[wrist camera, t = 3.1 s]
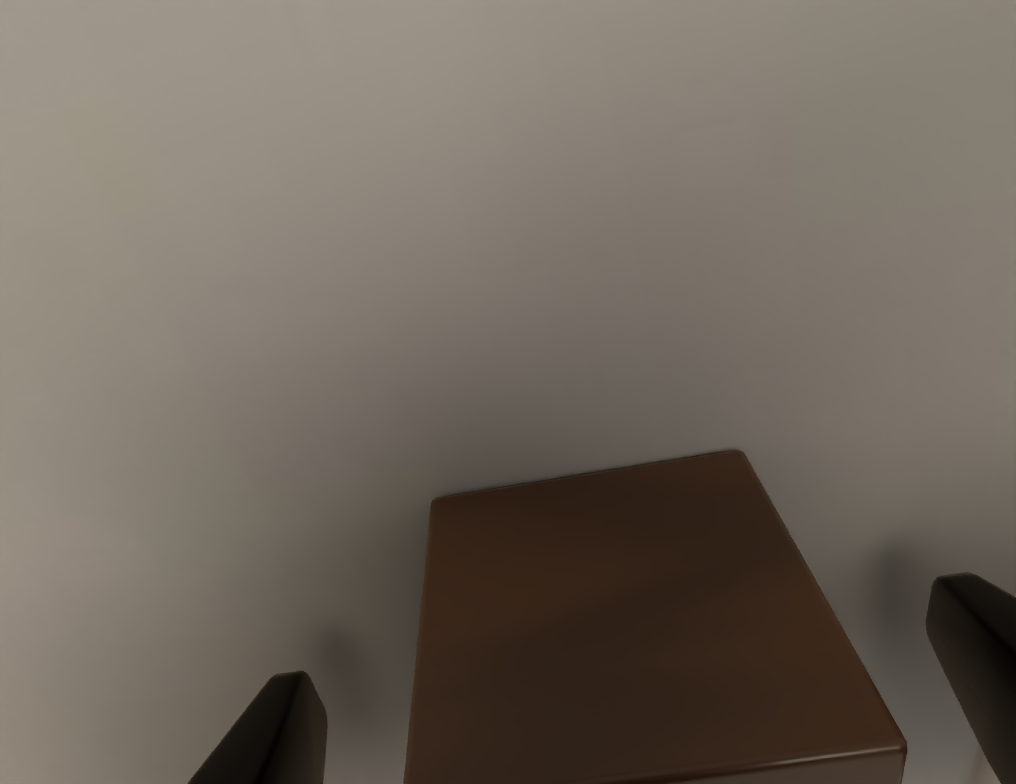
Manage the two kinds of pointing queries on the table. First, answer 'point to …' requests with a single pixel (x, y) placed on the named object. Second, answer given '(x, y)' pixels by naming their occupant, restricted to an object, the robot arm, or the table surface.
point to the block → (635, 640)
